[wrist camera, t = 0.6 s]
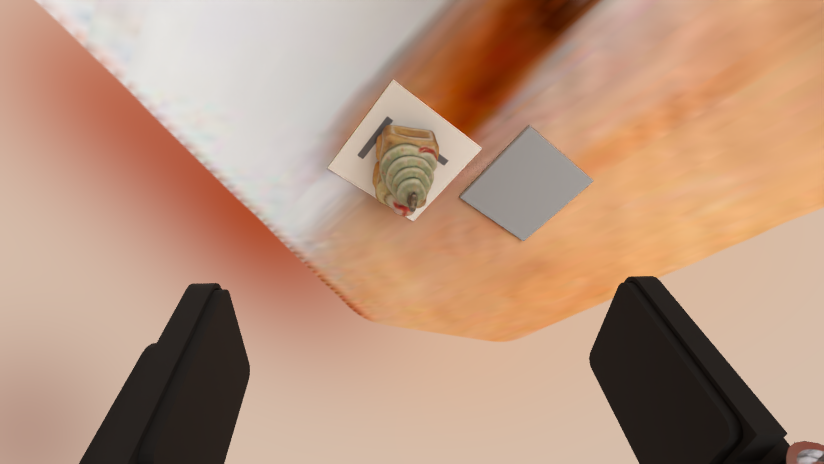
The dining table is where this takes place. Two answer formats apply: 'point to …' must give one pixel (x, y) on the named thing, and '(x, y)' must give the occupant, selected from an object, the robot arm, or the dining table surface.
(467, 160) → the tile
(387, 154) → the ornament
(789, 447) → the robot arm
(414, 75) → the dining table surface
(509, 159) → the grey mat
